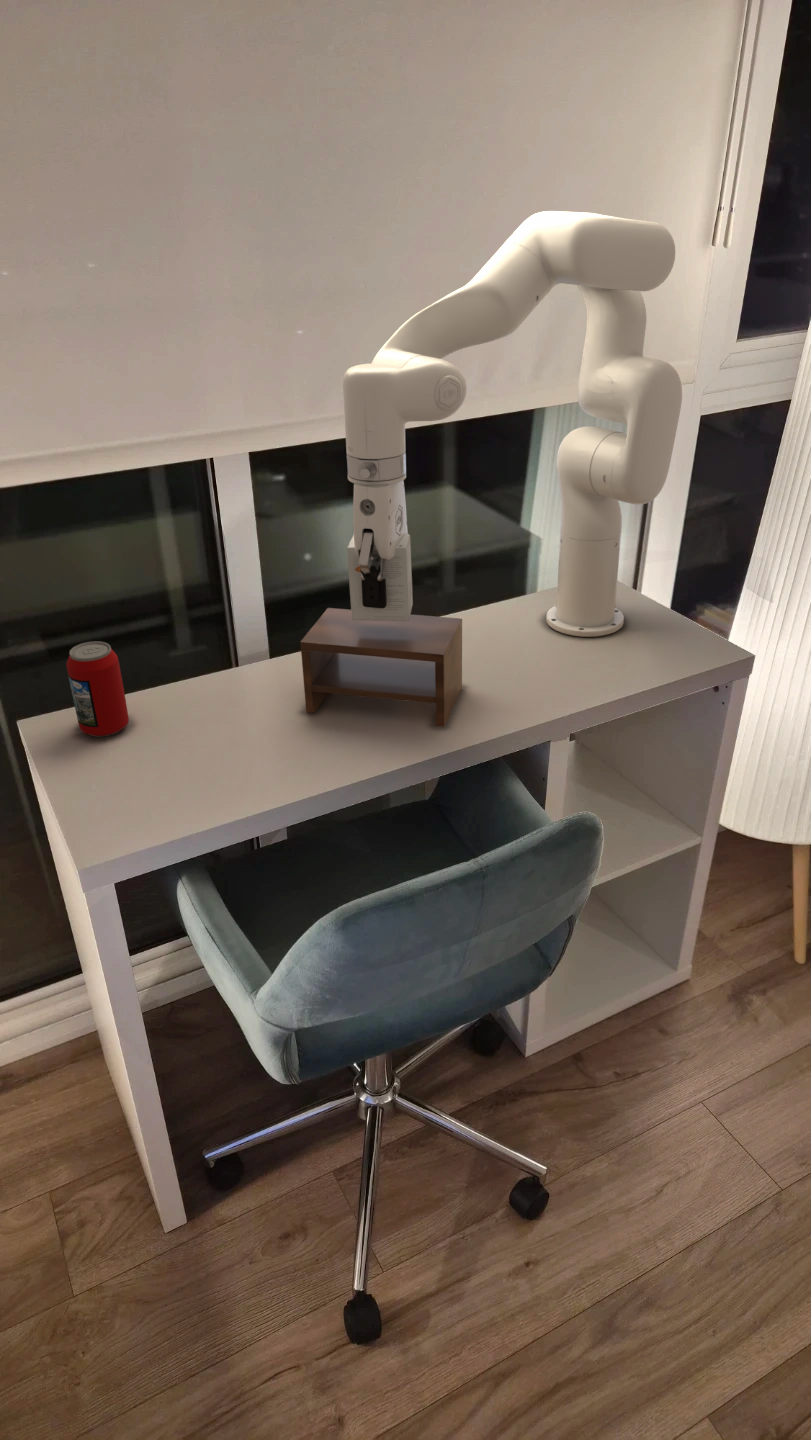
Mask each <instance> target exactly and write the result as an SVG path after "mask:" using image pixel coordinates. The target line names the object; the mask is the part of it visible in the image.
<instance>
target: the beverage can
mask: <svg viewBox="0 0 811 1440" xmlns="http://www.w3.org/2000/svg"><path fill="white" fill-rule="evenodd" d="M68 654H69V655H68V659H67V661H66V665H65V666H66V670H67V675H68V680H69V681H68V682H69V686H70V689H71V690H70V691H71V695H72V699H73V700H72V701H73V703H74V709H75V714H76V718H77V723H78V728H79V730H80V731H81V733H84V734H85V735H90V736H93V737H97V738H98V737H99V738H100V737H101V738H102V737H108V736H112V735H115V734H117V733H119V732H120V731H121V730H123V729H124V728H126V726H127V725H128V723H129V720H130V719H129V711H128V705H127V701H126V694H125V689H124V683H123V677H122V673H121V667H120V661H119V657H118V655H117V654H116V652H115V650H113V649H112V647H111V645H110V644H109V643H108V642H105V641H98V640H97V641H96V640H94V641H87V642H83V643H80V644H77V645H75V646H73V647H72V648H71V649H70V650H69V653H68Z"/></svg>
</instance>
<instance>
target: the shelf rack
mask: <svg viewBox="0 0 811 1440" xmlns="http://www.w3.org/2000/svg"><path fill="white" fill-rule="evenodd" d="M300 651H301V653H300V654H301V665H302V676H303V679H302V680H303V689H304V691H303V692H304V702H305V712H306V713H308V714H315V713H316V711H318V708H319V707H320V706H321V704H322V703H323V701H324V699H325V698H326V697H327V695H328V694H336V695H344V696H345V695H346V696H353V697H354V696H355V697H356V696H357V697H363V698H364V697H365V698H374V699H375V698H376V699H386V700H395V701H404V702H405V701H406V702H413V703H415V702H416V703H425V704H434V705H435V727H440V728H445V726H446V725H447V721H448V719H449V717H450V714H451V713H452V711H453V708H454V706H455V705H456V702H457V699H458V697H459V695H460V693H461V691H462V689H463V618H458V617H447V616H446V617H445V616H435V615H434V616H433V615H422V614H410V618H409V621H379V620H352V615H351V609H346V608H334V607H327V608H326V610H324V612H323V613H322V614H321V616H320V617H319V618H318V619H317V620H316V622H315V623H314V625H313V626H312V627H310V629H309V630H308V631H307V633H306V635H304V637H303V638H302V639H301V640H300Z"/></svg>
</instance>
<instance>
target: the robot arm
mask: <svg viewBox="0 0 811 1440" xmlns="http://www.w3.org/2000/svg"><path fill="white" fill-rule="evenodd" d="M675 261H676V245H675V240H674V238H673V235H672V233H670V230H668V228H667V227H665V225H663V224H661V223H660V222H656V221H651V220H650V221H649V220H640V219H633V218H624V217H617V216H611V215H607V214H601V213H593V212H585V211H583V212H581V211H580V212H579V211H561V210H559V211H558V210H547V211H546V210H544V211H540V212H537V213H536V212H535V213H534V214H532V215H530V216H529V217H528V218H526V219H525V220H523V222H522V223H521V224H520V225H519V226H518V227H517V228H516V229H515V230H514V231H513V233H512V234H511V235H510V236H509V237H508V238H507V239H506V240H505V242H504V243H503V244H502V245H501V246H500V247H499V248H498V249H497V251H496V252H494V254H493V255H492V256H491V257H490V259H488V261H487V262H486V263H484V265H483V266H482V267H481V269H480V270H479V271H478V272H477V273H476V274H475V275H474V276H473V277H472V279H471V280H469V282H467V283H466V284H465V285H463V286H462V287H460V288H457V289H456V290H454V291H452V292H451V293H449V294H446V295H445V296H443V297H442V298H440V299H438V300H436V301H435V302H433V303H432V304H430V305H428V306H427V307H425V308H422V309H421V310H420V311H418V312H417V313H415V314H414V315H412V316H411V317H410V318H409V319H407V320H406V321H404V323H403V324H402V325H400V326H399V327H398V328H397V330H395V332H393V334H392V335H391V336H390V337H389V338H388V340H386V342H385V343H383V346H381V348H380V349H379V350H378V352H377V353H376V354H375V356H374V357H373V359H372V361H371V363H362V364H357V365H354V366H351V367H349V368H348V369H347V370H346V371H345V372H344V374H343V378H342V394H343V409H344V410H343V411H344V429H345V430H344V431H345V449H346V465H347V466H346V467H347V481H349V482H350V483H352V484H353V497H352V498H353V499H352V500H353V505H352V506H353V509H352V510H353V511H352V513H353V514H352V515H353V516H352V519H353V521H352V522H353V535H354V545H355V553H356V555H357V557H359V567H360V570H361V582H362V602H363V606H364V607H371V608H385V607H386V605H387V600H386V579H383V572H384V558H386V560H391V559H392V558H393V557H394V556H395V549H396V547H397V545H398V544H399V543H400V541H401V540H402V538H403V537H404V535H405V534H409V532H408V531H409V530H408V517H407V503H406V501H407V500H406V491H405V482H404V481H405V480H406V478H407V455H406V454H407V453H406V449H407V448H406V424H407V423H409V422H436V421H437V422H439V421H441V420H444V419H447V418H449V417H451V416H453V415H454V414H455V413H456V412H458V410H459V409H460V408H461V407H462V405H463V403H464V402H465V398H466V395H467V382H466V379H465V375H464V374H463V372H462V371H461V370H460V369H459V368H458V367H457V366H456V365H455V364H454V363H452V362H450V361H447V360H445V359H444V358H445V357H447V356H449V355H451V354H453V353H456V352H458V351H460V350H463V349H466V348H469V347H473V346H479V345H483V344H488V343H491V342H494V341H496V340H500V339H502V338H505V337H508V336H510V335H512V334H513V333H514V332H515V331H517V330H518V328H520V326H521V324H523V322H524V321H525V320H526V319H527V318H528V317H529V315H530V314H531V313H532V312H533V311H534V310H535V309H536V307H537V306H538V305H539V304H540V303H541V301H543V299H544V298H545V297H546V296H547V295H548V294H549V293H550V292H551V290H552V289H553V288H554V287H556V286H557V285H560V284H565V285H575V286H576V287H577V288H578V290H579V292H580V294H581V296H582V299H583V303H584V305H585V310H586V327H585V335H584V336H585V337H584V343H583V351H582V356H581V362H580V370H579V375H578V377H579V378H578V384H577V403H578V406H579V408H580V409H581V410H582V411H583V412H584V413H585V414H587V415H588V416H591V417H594V418H597V419H600V420H604V421H608V422H612V423H618V424H621V425H622V424H623V425H627V428H626V433H624V432H622V431H617V430H614V429H609V428H604V427H599V426H581V427H577V428H575V429H573V430H572V431H570V432H568V433H567V434H566V435H565V437H563V439H562V440H561V443H560V444H559V446H558V450H557V455H556V471H557V472H556V473H557V479H558V484H559V493H560V529H559V548H558V549H559V550H558V569H557V588H556V604H555V605H554V606H552V607H550V609H548V610H547V611H546V615H545V616H546V617H545V621H546V624H547V625H548V626H549V627H550V628H551V629H553V630H554V631H557V632H559V633H561V634H565V635H567V636H568V635H569V636H575V637H581V638H593V637H603V636H608V635H610V634H613V633H615V632H617V631H620V629H622V628H623V626H624V621H625V616H624V614H623V613H622V611H621V610H620V609H618V608H616V603H617V602H616V601H617V591H618V577H619V565H620V553H621V552H620V551H621V539H622V528H623V515H622V509H621V505H620V502H623V503H626V504H630V505H638V506H641V505H645V504H648V503H651V502H652V501H654V500H655V499H656V498H657V497H658V496H659V494H661V492H662V490H663V488H664V485H665V484H666V480H667V478H668V474H669V470H670V466H671V462H672V457H673V451H674V446H675V441H676V435H677V430H678V425H679V421H680V414H681V410H682V402H683V387H682V382H681V378H680V376H679V373H678V371H677V370H676V368H675V367H674V366H673V365H672V364H670V363H668V362H666V361H664V360H662V359H657V358H651V357H647V356H644V345H645V339H646V338H645V336H646V329H647V308H646V303H645V300H644V297H643V294H642V292H650V291H653V290H654V289H657V288H658V287H659V286H660V285H662V284H663V283H664V282H665V281H666V280H667V278H668V277H669V276H670V274H671V273H672V270H673V267H674V265H675ZM360 549H361V552H359V550H360ZM372 552H378V554H379V556H380V557H377V556H372ZM371 561H378V570H377V569H376V567H375V565H372V562H371Z"/></svg>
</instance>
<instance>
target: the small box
mask: <svg viewBox="0 0 811 1440" xmlns="http://www.w3.org/2000/svg"><path fill="white" fill-rule="evenodd" d="M359 552H361V549H360V550H359ZM346 553H347V568H348V583H349V597H350V600H349V601H350V610H351V615H352V620H379V621H409V618H410V615H411V613H412V609H413V604H414V600H413V576H412V573H413V572H412V571H413V570H412V545H411V535H410V533H408V534H405V535H404V537H403V538H402V540H401V541H400V543H399V544H398V545H397V547H396V549H395V556H394V557H393V558H392V559H391V560H386V558H384V572H383V579H386V600H387V605H386V607H385V608H371V607H364V606H363V602H362V582H361V570H360V567H359V557H357V555H356V553H355V545H354V534H353V535H352V537H351V539H350V541H349V543H348V545H347V547H346ZM372 556H377V557H380V556H379V554H378V552H372ZM371 562H372V565H375V567H376V569H377V570H378V561H371Z"/></svg>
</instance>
